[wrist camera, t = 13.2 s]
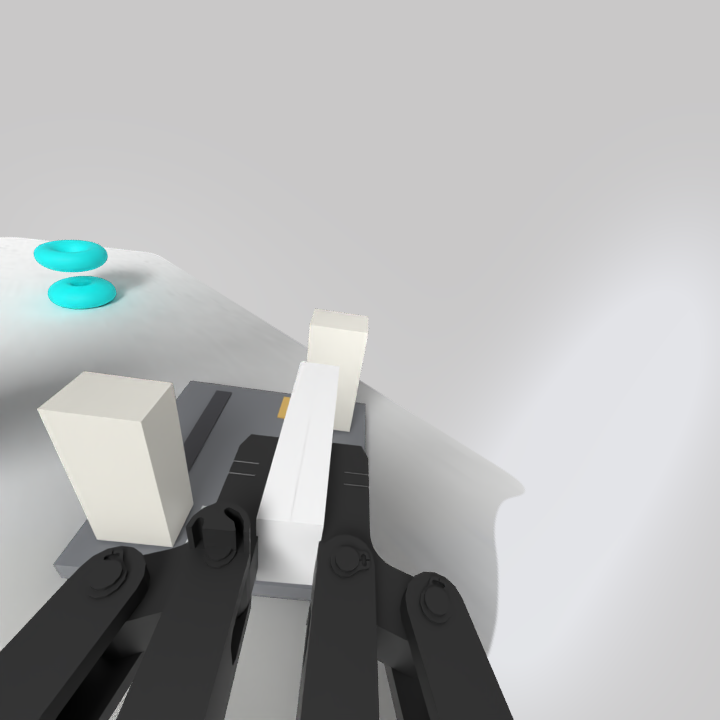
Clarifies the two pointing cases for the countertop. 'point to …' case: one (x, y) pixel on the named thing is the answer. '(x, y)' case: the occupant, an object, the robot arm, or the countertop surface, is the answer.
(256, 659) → the countertop surface
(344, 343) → the cream white tall block
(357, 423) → the switch panel
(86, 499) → the block
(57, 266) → the donuts
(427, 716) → the robot arm
